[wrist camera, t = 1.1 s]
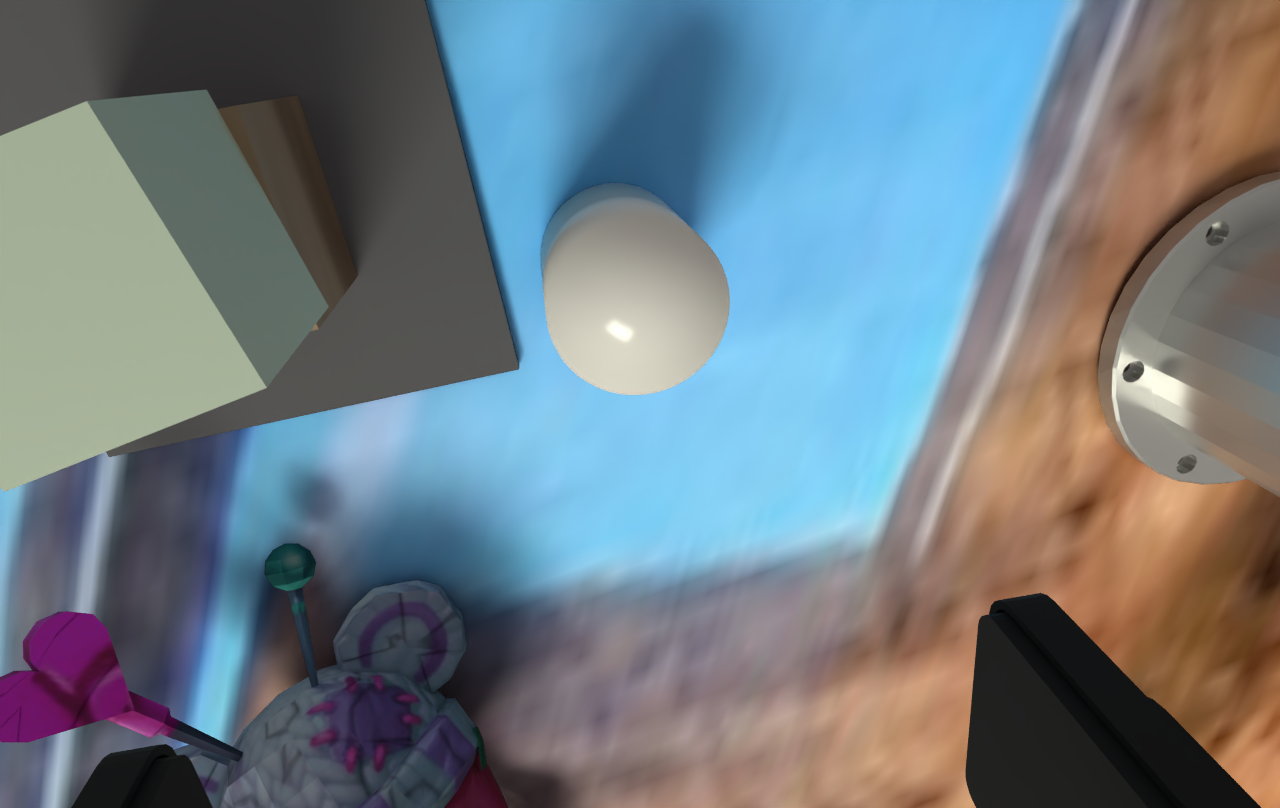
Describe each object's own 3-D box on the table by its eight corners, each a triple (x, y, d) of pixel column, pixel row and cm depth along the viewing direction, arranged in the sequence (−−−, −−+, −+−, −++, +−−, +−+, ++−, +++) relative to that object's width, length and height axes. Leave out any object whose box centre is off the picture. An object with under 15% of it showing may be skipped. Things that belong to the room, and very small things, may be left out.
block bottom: (297, 95, 23) (237, 105, 18) (357, 276, 25) (318, 329, 20) (106, 131, 23) (-9, 151, 18) (184, 311, 25) (102, 374, 20)
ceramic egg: (675, 169, 26) (716, 198, 20) (696, 312, 28) (739, 374, 23) (524, 199, 26) (526, 237, 20) (557, 342, 28) (567, 411, 22)
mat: (400, -97, 22) (398, -99, 22) (519, 364, 28) (519, 369, 27) (-120, -4, 21) (-131, -5, 21) (114, 451, 27) (109, 457, 27)
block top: (206, 89, 18) (86, 100, 13) (328, 306, 20) (266, 387, 15) (-17, 179, 18) (-222, 225, 13) (130, 385, 20) (3, 491, 15)
